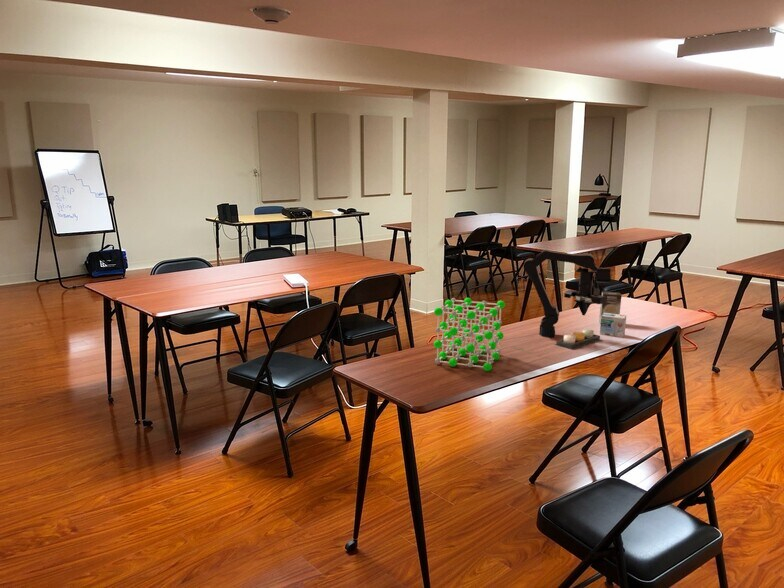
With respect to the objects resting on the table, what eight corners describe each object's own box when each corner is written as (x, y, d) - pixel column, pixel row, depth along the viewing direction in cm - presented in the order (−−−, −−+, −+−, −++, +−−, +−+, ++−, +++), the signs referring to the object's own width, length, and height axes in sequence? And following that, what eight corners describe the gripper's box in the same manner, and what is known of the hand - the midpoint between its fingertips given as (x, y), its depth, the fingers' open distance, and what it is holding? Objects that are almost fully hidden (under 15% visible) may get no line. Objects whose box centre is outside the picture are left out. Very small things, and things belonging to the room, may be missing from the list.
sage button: (579, 338, 276) (580, 330, 276) (585, 336, 280) (586, 328, 279) (589, 340, 273) (589, 332, 272) (595, 338, 276) (595, 330, 275)
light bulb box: (598, 337, 284) (600, 315, 282) (601, 333, 290) (603, 312, 288) (622, 340, 279) (624, 318, 277) (624, 336, 285) (626, 314, 283)
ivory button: (561, 343, 268) (561, 336, 267) (567, 341, 271) (568, 334, 270) (570, 346, 264) (571, 338, 263) (577, 344, 267) (577, 336, 266)
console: (553, 347, 269) (553, 340, 268) (583, 338, 283) (583, 331, 282) (572, 353, 261) (573, 345, 261) (602, 343, 275) (602, 336, 275)
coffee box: (599, 324, 306) (602, 293, 302) (598, 321, 312) (601, 291, 308) (619, 325, 303) (621, 294, 300) (617, 322, 310) (620, 292, 306)
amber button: (570, 340, 272) (570, 333, 271) (576, 338, 275) (577, 331, 274) (579, 343, 268) (580, 335, 268) (586, 341, 271) (587, 333, 271)
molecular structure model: (503, 354, 260) (506, 299, 255) (490, 373, 238) (492, 313, 232) (449, 347, 269) (451, 295, 264) (432, 365, 247) (433, 308, 241)
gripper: (614, 282, 270) (611, 316, 273) (578, 276, 284) (576, 308, 287) (600, 286, 263) (597, 320, 266) (564, 279, 277) (562, 312, 281)
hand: (583, 315), depth 275 cm, fingers closed
